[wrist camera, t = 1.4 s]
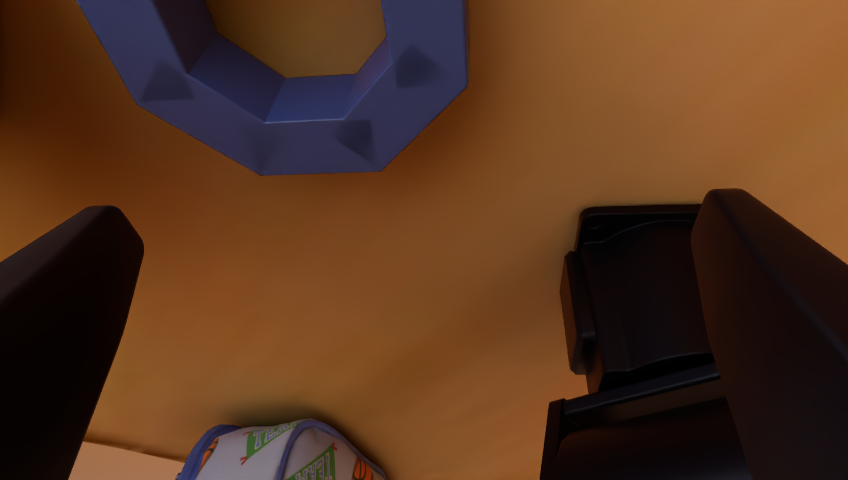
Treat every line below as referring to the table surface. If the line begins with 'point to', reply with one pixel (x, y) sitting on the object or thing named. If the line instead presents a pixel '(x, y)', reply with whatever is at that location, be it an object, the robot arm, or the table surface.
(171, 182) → the table surface
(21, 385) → the robot arm
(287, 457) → the lunch box
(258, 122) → the ring
